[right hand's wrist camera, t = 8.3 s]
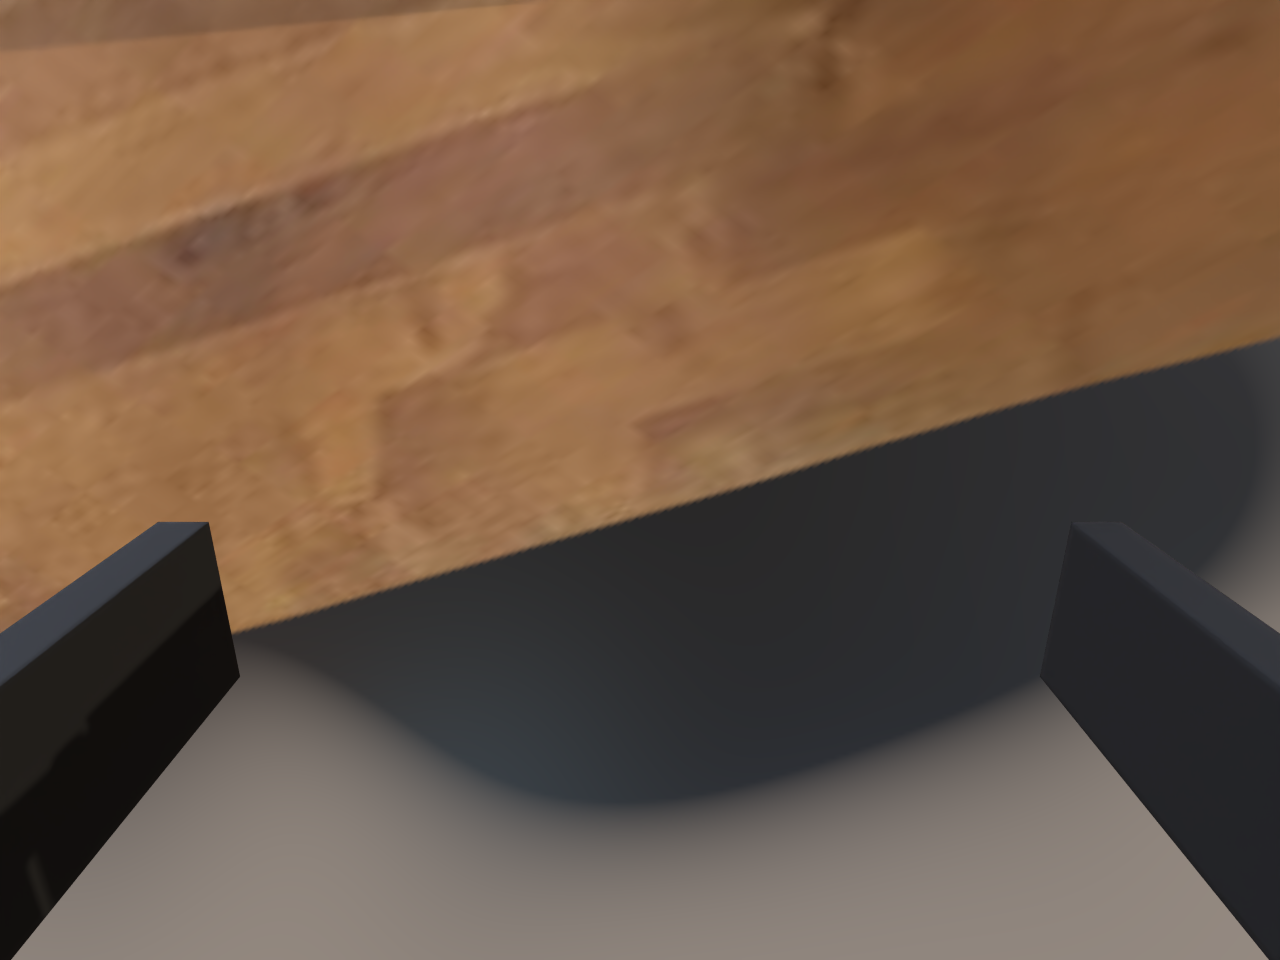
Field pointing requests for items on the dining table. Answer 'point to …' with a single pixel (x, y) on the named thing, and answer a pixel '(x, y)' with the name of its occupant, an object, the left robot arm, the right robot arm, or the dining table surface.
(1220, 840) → the right robot arm
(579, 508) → the dining table surface
